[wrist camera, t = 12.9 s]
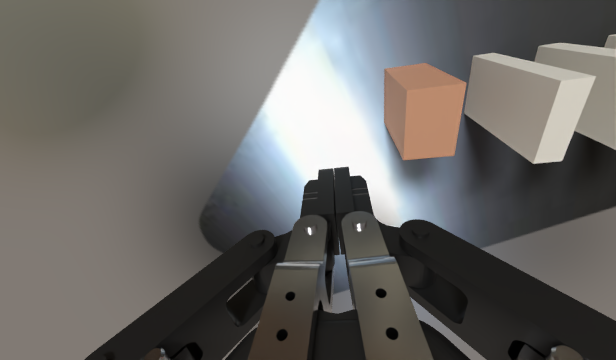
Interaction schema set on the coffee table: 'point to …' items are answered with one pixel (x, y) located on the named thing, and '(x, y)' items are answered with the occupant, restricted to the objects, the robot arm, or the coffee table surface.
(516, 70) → the domino
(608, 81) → the domino
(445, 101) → the domino
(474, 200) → the coffee table surface
